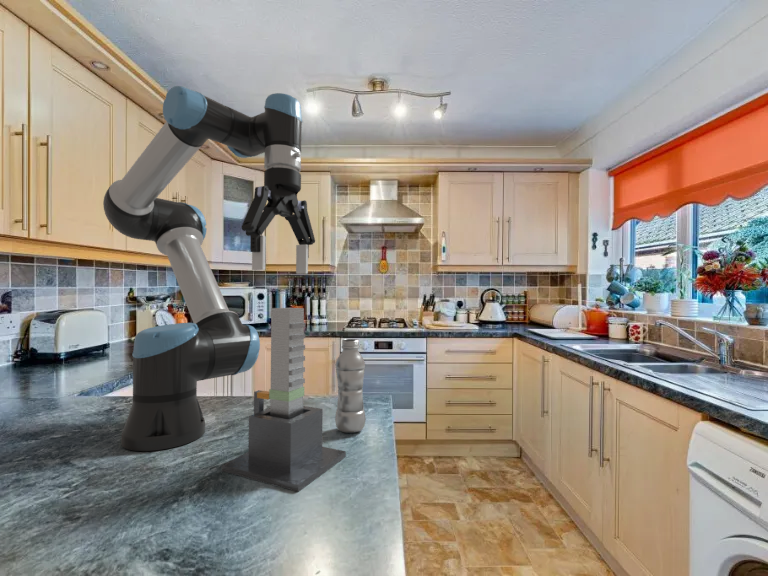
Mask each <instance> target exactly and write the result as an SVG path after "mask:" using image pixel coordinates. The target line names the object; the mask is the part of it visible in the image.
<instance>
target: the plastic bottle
mask: <svg viewBox="0 0 768 576" xmlns="http://www.w3.org/2000/svg"><path fill="white" fill-rule="evenodd" d="M341 342H342V343H341V349H342V351H341V352H340V354H339V355H338V357H337V358H336V360H335V373H336V381H337V405H336V407H337V408H336V411H335V419H334V420H335V421H334V422H335V427H336V428H337V430H338V431H339V432H340V433H341V432H342V433H345V434H346V433H359V432H361V431H362V430H363V429H364V428H365V427H366V426H365V424H366V412H365V408H364V397H363V396H364V395H363V391H364V390H363V387H364V377H365V370H366V369H365V368H366V363H365V360H364V358H363V356H362V354H361V353H360V352H359V349H360V340H359V339H355V338H344V339H342V341H341Z"/></svg>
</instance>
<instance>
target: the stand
mask: <svg viewBox="0 0 768 576" xmlns="http://www.w3.org/2000/svg"><path fill="white" fill-rule="evenodd" d="M265 400H270V399H269V390H268V391H267V390H255V391H254V392H253V414H251V415H249V416H248V451H247V452H246V453H244V454H241V455H239V456H237V457H234V458H232V459H231V460H229V461H227V462H224V463H223V464H221V472H223V473H224V472H225V473H228V474H231V475H235V476H239V477H243V478H246V479H249V480H253V481H257V482H260V483H263V484H264V483H265V484H268V485H272V486H276V487H279V488H283V489H287V490H290V491H294V492H300V491H301V490H303V489H304V488H306V487H307V486H308V485H310V484H311V483H312V482H314V481H315V480H316V479H318V478H319V477H320V476H322V475H323V474H325V473H326V472H327V471H328V470H330V469H332V468H333V467H334V466H335V465H337V464H338V463H340V462H341V461H342V460H344V459H345V458H346V457H347V455H346V453H347V452H346V451H345V450H340V449H336V448H331V447H327V446H323V414H324V413H323V408H319V407H313V406H312V407H311V406H306V405H303V414H301V415H299V416H297V417H294V418H292V419H290V420H288V419H283V418H277V417H271V416H270V408H269V407H268V408H266V409H264V407H265V406H264V403H265Z"/></svg>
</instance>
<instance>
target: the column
mask: <svg viewBox="0 0 768 576" xmlns="http://www.w3.org/2000/svg"><path fill="white" fill-rule="evenodd" d="M270 314H271V315H270V318H271V323H270V325H271V326H270V388H269V390H268V391H269V399H268V400H270V401H269V405H270V416H271V417H277V418H283V419H288V420H290V419H292V418H294V417H297V416H299V415H301V414H303V406H304V396H305V386H304V384H305V383H306V378H304V373H306V367H304V362H305V361H306V356H305V355H304V351H305V350H306V344H305V343H304V341H305V339H306V333H305V331H304V330H305V328H306V322H305V308H304V307H272V308H271V313H270Z"/></svg>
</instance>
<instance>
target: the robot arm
mask: <svg viewBox="0 0 768 576" xmlns="http://www.w3.org/2000/svg"><path fill="white" fill-rule="evenodd" d="M264 102H265V103H264V107H263V108H264V111H263V112H262V113H259V114H257V115H254V116H249V115H246V114H244V113H243V112H240V111H238V110H236V109H234V108H232V107H230V106H227V105H224V104H223V103H220V102H219V101H217V100H214V99H211V98H210V97H208V96H205V95H204V94H202V93H201V92H198V91H196V90H192V89H190V88H187V87H184V86H181V85H176V86H175V85H174V86H172V87H171V88H169V90H168V91H167V93H166V94H165V99H164V100H163V103H162V115H163V119H164V120H165V123H164V124H163V125H162V126H161V128H160V129H159V130H158V132H157V133H156V135H155V136H154V137H153V138H152V139H151V141H150V142H149V144H148V145H147V146H146V148H144V150H143V151H142V153H141V154H140V155H139V156H138V158H137V159H136V160H135V161H134V163H133V165H131V167H130V169H129V170H128V171H127V172H126V173H125V175H124V177H122V179H118V180H116V181H113V182H112V183H111V184H110V186H109V187H108V189H107V190H106V192H105V194H104V196H103V210H104V211H103V212H104V214H105V217H106V219H107V220H108V223H109V224H110V225H112V227H113V228H114V229H115V230H116V231H118V232H119V233H121V234H122V235H125V236H126V237H128V238H132V239H134V240H135V239H136V240H143V241H149V242H150V241H151V242H154V243H155V246H156V248H157V250H158V251H159V252H160V254H162V255H164V256H167V259H168V261H169V263H170V266H171V269H172V271H173V274H174V276H175V279H176V282H177V285H178V287H179V289H180V292H181V294H182V298H183V299H184V300H183V301H184V302H185V305H186V306H187V309H188V313H189V315H190V318H191V319H192V322H179V323H170V324H169V323H168V324H164V325H157V326H153V327H147V328H145V329H143V330H140V331H139V332H137V333H136V335H135V337H134V342H133V351H132V403H131V404H132V405H131V407H130V410H129V413H128V414H127V419H125V423H124V427H123V429H122V430H121V435H120V436H121V438H120V439H121V443H120V445H121V447H122V448H123V449H125V450H127V451H133V452H134V451H135V452H149V451H150V452H151V451H152V452H153V451H161V450H166V449H172V448H176V447H180V446H184V445H186V444H189V443H192V442H194V441H196V440H198V439H200V438H201V437H203V436H204V434H205V433H206V421H205V418H204V416H203V412H202V409H201V405H200V402H199V400H198V396H197V391H198V390H197V389H198V388H197V387H198V383H197V382H200V381H205V380H210V379H211V380H212V379H216V378H221V377H227V376H236V375H239V374H241V373H245V372H248V371H249V370H251V369H252V368H253V367H254V365H255V364H256V362H257V360H258V359H259V356H260V355H259V353H260V349H261V343H260V341H261V340H260V337H259V333H258V330H257V329H256V327H254V326H252V325H250V324H247V323H246V324H243V323H242V321H241V319H240V316H239V314H238V313H237V312H235V311H232V310H229V308H228V305H227V303H226V301H225V298H224V296H223V293H222V291H221V289H220V287H219V284H218V282H217V279H216V277H215V275H214V273H213V271H212V268H211V266H210V264H209V261H208V259H207V257H206V254H205V253H204V250H203V247H202V245H203V242H204V240H205V238H206V234H207V227H206V226H207V222H206V217H205V215H204V214H203V212H202V211H201V209H199V207H196V206H194V205H192V204H188V203H185V202H184V201H183V202H182V201H174V200H169V199H165V198H160V197H159V195H160V194H161V193H162V192H163V191H164V190H165V189H166V187H167V186H169V184H170V183H171V182H172V180H173V179H174V178H175V177H176V176H177V175H178V174H179V173H180V171H181V170H182V169H183V168H184V167H185V165H187V163H188V162H189V161H190V160H191V159H192V158H193V157H194V155H195V154H196V153H197V152H198V151H199V150H200V149H201V147H202V146H203V145H204V144H205V143H206V142H207V141H208V140H211V141H214V142H217V143H220V144H222V145H224V146H226V147H227V149H229V151H231V152H232V154H234V155H235V156H236V157H238V158H242V159H246V158H253V157H256V156H257V157H258V156H259V155H262V154H264V158H263V159H264V162H263V164H264V165H263V168H264V169H265V171H264V172H263V173H264V175H263V177H264V178H263V181H264V182H263V183H264V184H263V185H262V186H256V187H255V188H254V196H253V199H252V201H251V203H250V206H249V208H248V211H247V213H246V215H245V217H244V220H243V222H242V225H241V229H242V231H245V236H248V237H250V239H249V240H250V242H249V243H250V246H249V247H250V249H249V250H250V252H251V270H252V271H262V270H263V271H265V270H266V258H267V257H266V256H267V255H266V253H267V251H266V250H267V248H266V247H267V246H266V245H267V243H266V242H267V236H266V235H263V233H264V232H265V230H266V229H267V228H268V226H269V225H270V224H271V222H272V221H273V219H274V218H275V217H276V216H277V215H278V216H280V217H282V218H284V219H285V220H286V221H288V224H289V226H290V228H291V229H292V232H293V234H294V236H295V239H296V240H297V242H298V243H297V244H296V246H295V247H296V248H295V251H296V254H295V259H296V260H295V261H296V262H295V274H297V275H300V274H301V275H302V274H305V275H306V274H308V273H309V271H308V270H309V258H310V257H309V256H310V255H309V251H310V249H309V248H310V246H311V245H312V246H313V245H314V244H315V242H316V239H315V238H316V237H315V234H314V230H313V227H312V223H311V220H310V215H309V212H308V203H307V200H299V199H298V193H299V192H301V189H302V175H301V173H300V172H301V171H302V128H303V127H302V125H303V124H302V123H303V117H302V106H301V103H300V101H299V100H298V99H297V98H296V97H293V95H290V94H287V93H282V92H281V93H280V92H277V93H276V92H275V93H272V94H269V95H268V96H267V97H266V98H265V101H264Z"/></svg>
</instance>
